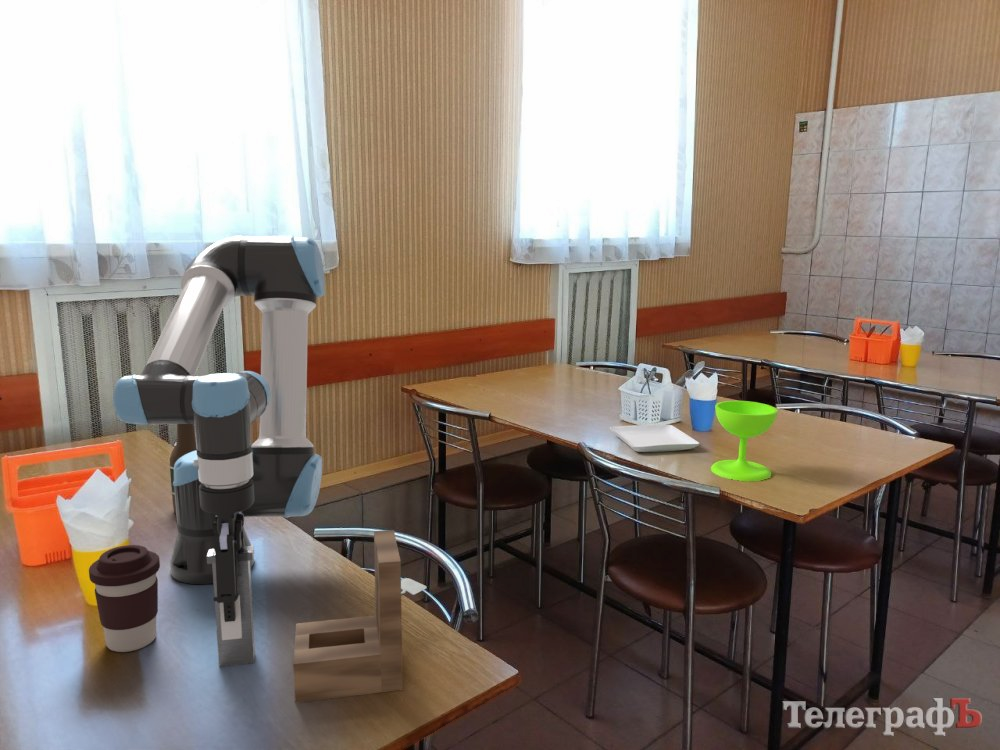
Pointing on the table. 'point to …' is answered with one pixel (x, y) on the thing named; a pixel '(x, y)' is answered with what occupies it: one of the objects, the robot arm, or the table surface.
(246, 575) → the rail
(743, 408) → the wineglass
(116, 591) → the coffee cup
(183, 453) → the beer bottle
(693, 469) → the table surface
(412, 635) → the table surface
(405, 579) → the mounting bracket
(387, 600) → the slotted wooden l-bracket
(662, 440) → the salad plate
